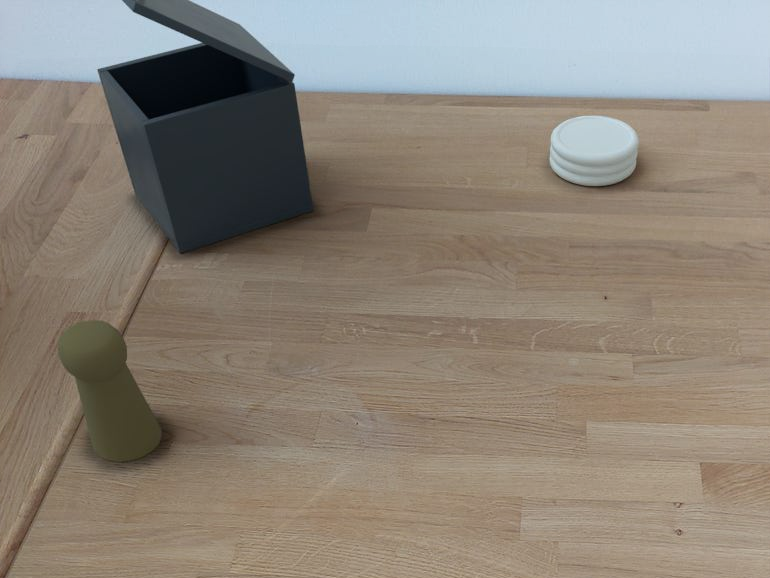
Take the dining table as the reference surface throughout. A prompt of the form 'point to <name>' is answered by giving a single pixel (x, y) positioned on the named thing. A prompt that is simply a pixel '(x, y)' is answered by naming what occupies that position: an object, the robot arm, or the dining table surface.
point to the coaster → (593, 150)
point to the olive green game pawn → (108, 392)
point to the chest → (208, 143)
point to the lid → (210, 31)
